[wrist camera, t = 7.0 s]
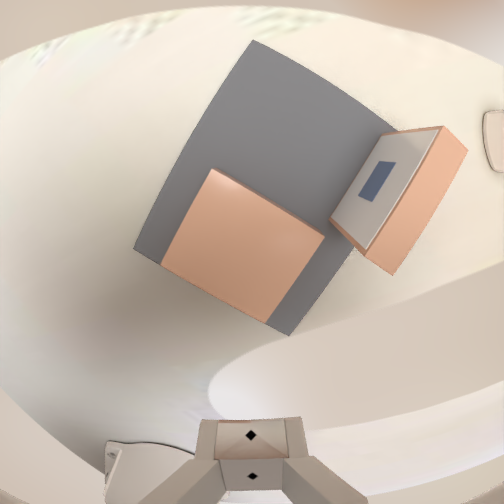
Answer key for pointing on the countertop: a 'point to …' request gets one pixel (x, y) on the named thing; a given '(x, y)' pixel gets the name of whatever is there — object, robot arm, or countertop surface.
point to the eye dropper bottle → (494, 138)
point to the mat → (274, 161)
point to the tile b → (398, 192)
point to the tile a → (241, 246)
